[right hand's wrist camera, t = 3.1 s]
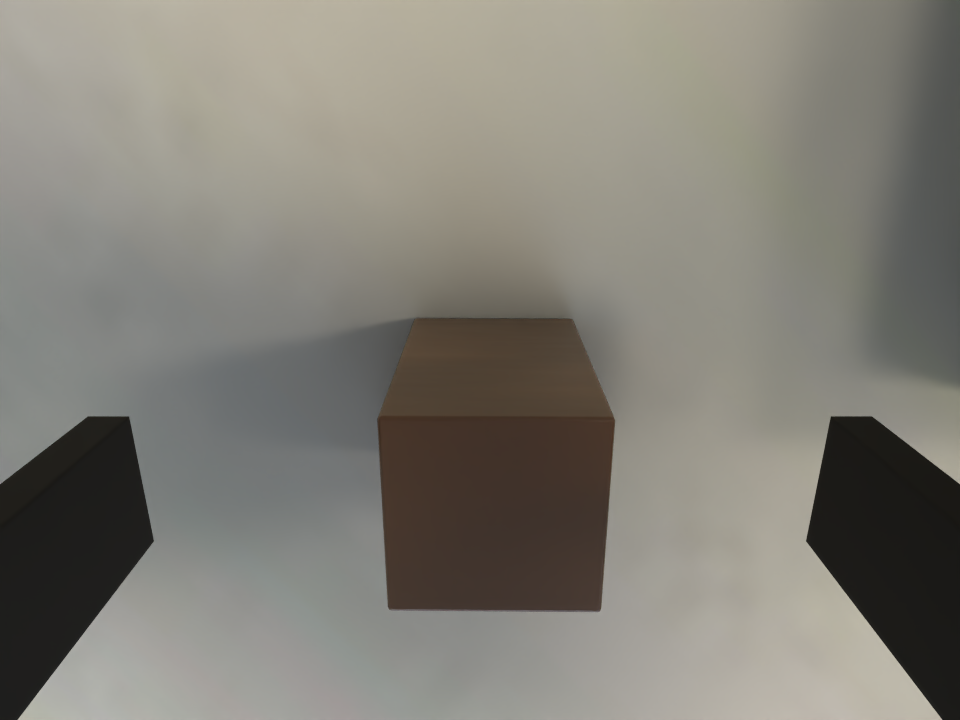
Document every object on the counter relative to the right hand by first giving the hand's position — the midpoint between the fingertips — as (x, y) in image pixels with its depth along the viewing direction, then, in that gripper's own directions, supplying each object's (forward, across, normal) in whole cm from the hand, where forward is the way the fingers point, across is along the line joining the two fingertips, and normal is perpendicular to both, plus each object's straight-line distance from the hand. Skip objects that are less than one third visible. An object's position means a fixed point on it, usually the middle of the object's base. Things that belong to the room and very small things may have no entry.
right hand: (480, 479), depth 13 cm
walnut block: (+5, 0, 0) cm, 5 cm away
